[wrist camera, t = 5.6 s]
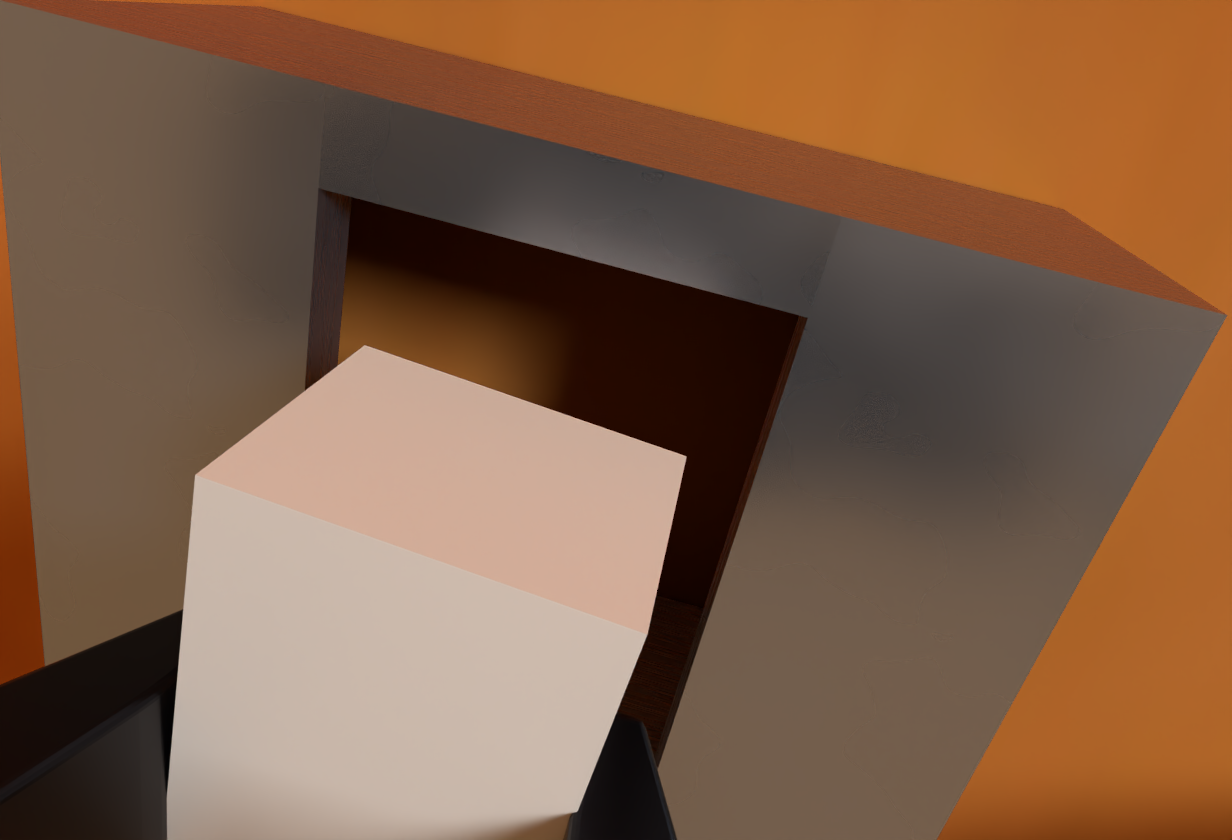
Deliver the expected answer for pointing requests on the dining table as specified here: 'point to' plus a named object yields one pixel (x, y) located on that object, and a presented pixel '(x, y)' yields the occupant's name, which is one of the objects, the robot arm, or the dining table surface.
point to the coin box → (625, 238)
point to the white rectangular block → (410, 613)
